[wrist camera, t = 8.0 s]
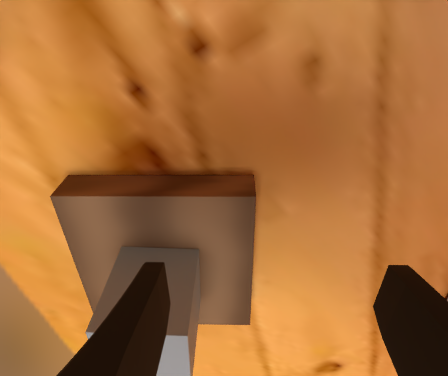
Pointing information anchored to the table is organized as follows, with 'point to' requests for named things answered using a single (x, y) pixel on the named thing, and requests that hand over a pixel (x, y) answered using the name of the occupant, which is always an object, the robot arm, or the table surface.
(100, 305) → the slate block
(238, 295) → the walnut slab
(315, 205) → the table surface
